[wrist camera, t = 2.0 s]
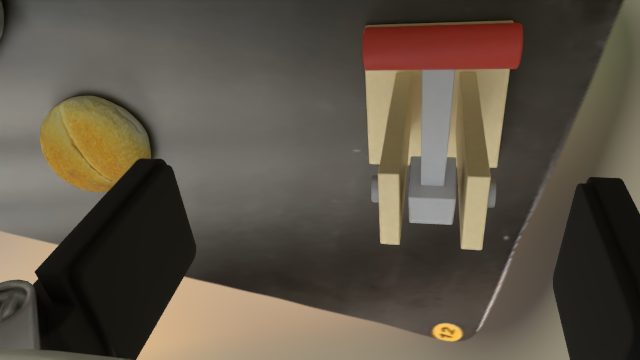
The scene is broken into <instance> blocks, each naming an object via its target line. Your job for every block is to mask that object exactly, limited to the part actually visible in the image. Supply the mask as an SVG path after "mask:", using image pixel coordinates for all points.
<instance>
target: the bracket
mask: <svg viewBox="0 0 640 360" xmlns="http://www.w3.org/2000/svg"><path fill="white" fill-rule="evenodd" d="M492 23H514V22H513V21H512V20H510V21H478V22H447V23H415V24H383V25H366V26H365V28H366V27H394V26H427V25H459V24H492ZM363 33H364V31H363ZM509 73H510V69H460V70H455V79H454V89H453V100H452V110H451V121H450V131H449V142H448V152H447V157H455V158H456V166H457V175H458V196H459V217H460V238H461V249H471V250H482V245H483V237H484V229H485V221H486V213H487V207H490V208H493V207H494V206H495V201H496V182H495V180H494V179H491V175H490V168H489V167H495V168H496V167H497V164H498V156H499V149H500V141H501V133H502V126H503V118H504V111H505V103H506V95H507V88H508V80H509ZM365 79H366V101H367V123H368V145H369V163H370V164H380V165H379V171H378V175H374V176H373V178H372V186H371V198H372V202H379V222H380V243H381V244H392V245H399V244H400V237H401V226H402V216H403V206H404V195H405V185H406V175H407V165H410V160H411V157H412V156H420V157H421V117H422V70H377V71H366V70H365Z"/></svg>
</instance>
